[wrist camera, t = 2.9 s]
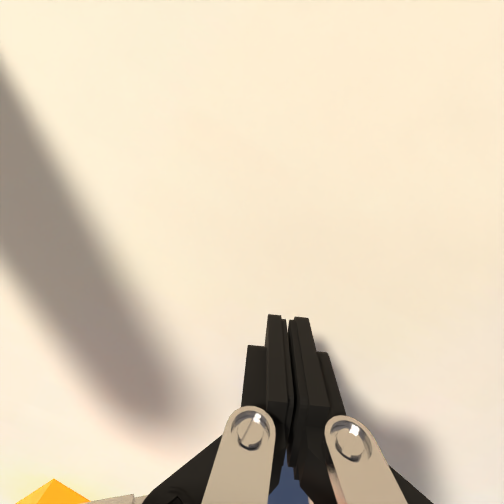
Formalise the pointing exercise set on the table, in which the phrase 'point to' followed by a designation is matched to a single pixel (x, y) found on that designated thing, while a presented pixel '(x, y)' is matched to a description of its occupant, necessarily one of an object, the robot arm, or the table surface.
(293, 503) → the ball
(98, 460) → the table surface
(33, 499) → the orange juice
